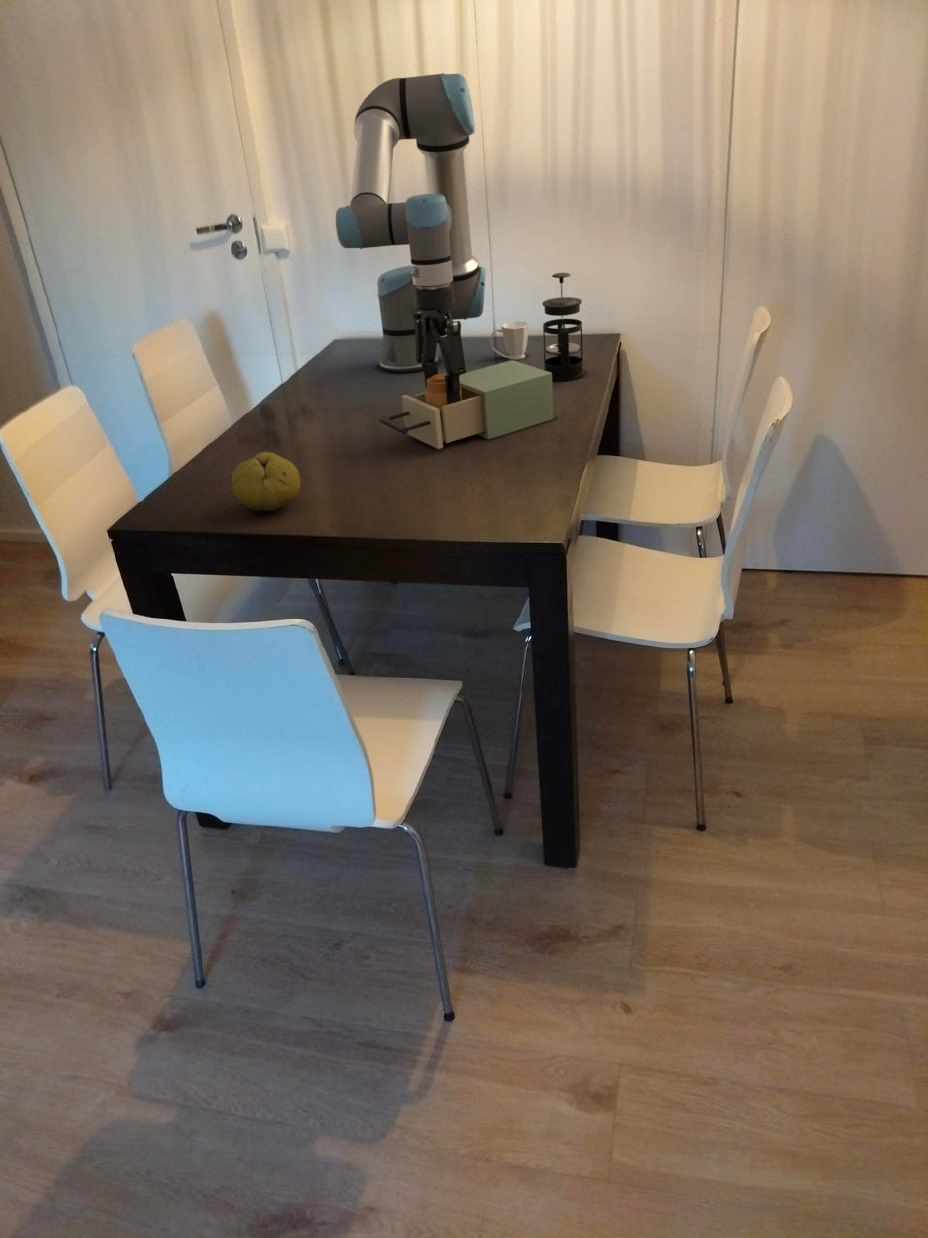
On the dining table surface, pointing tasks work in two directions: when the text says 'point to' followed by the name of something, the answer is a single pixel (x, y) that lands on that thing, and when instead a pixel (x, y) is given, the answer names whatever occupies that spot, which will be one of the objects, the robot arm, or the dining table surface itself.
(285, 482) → the fruit
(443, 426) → the drawer
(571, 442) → the dining table surface
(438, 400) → the stepped orange cylinder
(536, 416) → the cabinet
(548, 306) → the french press
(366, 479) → the dining table surface
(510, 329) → the cup
